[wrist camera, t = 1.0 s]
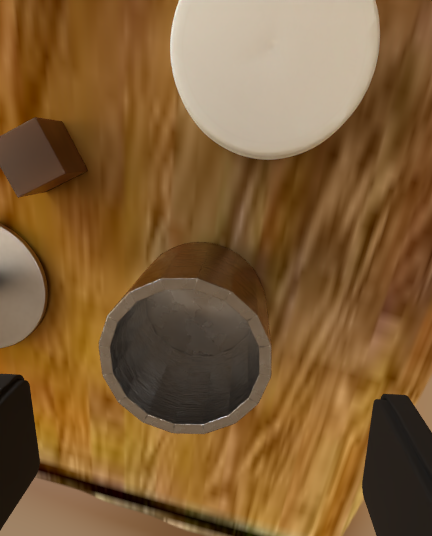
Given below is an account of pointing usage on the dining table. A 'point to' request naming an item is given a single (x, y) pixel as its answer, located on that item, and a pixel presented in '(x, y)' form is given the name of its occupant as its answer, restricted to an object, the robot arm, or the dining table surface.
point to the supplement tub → (273, 69)
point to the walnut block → (39, 156)
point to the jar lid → (19, 288)
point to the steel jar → (189, 341)
